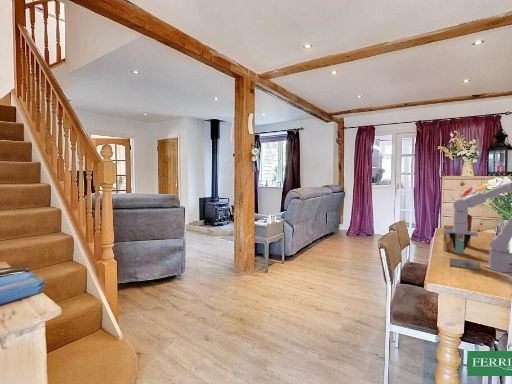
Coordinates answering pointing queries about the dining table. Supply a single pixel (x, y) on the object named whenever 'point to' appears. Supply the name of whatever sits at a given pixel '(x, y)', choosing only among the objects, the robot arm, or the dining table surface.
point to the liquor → (468, 226)
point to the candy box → (448, 241)
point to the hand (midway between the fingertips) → (459, 248)
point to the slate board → (464, 264)
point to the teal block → (459, 246)
